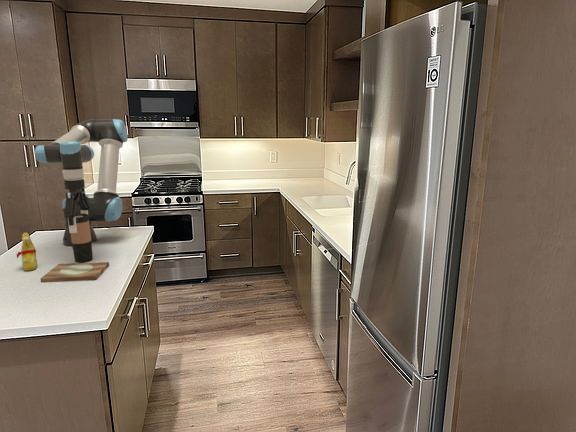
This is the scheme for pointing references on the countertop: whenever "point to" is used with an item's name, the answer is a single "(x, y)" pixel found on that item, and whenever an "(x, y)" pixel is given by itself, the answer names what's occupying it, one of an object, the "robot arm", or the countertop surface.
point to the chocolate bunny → (28, 253)
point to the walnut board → (75, 272)
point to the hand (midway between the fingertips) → (79, 228)
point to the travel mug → (82, 240)
